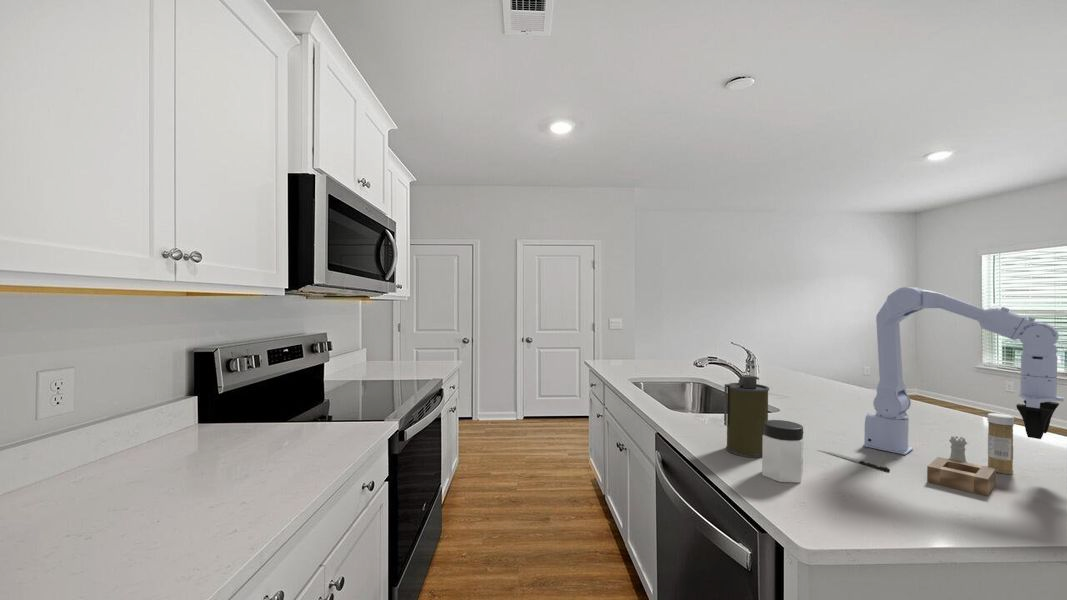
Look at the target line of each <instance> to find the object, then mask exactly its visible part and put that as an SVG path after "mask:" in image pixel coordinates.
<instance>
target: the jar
mask: <svg viewBox="0 0 1067 600" xmlns="http://www.w3.org/2000/svg"><path fill="white" fill-rule="evenodd" d="M763 433H764V434H763V446H762V457H761V460H762V461H761V462H762V463H761V467H762V468H761V470H762V471H761V472H762V473H761V475H762V476H763V477H766V478H768V479H770V480H773V481H776V482H779V483H793V484H794V483H797V484H798V483H799V484H800V483H801V482H802V479H803V477H804V476H803V474H804V473H803V472H804V426H803V425H801V424H800V423H797V422H795V421H789V420H783V419H782V420H781V419H768V420H767V421H765V422H764V423H763Z"/></svg>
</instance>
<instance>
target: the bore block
mask: <svg viewBox="0 0 1067 600" xmlns="http://www.w3.org/2000/svg"><path fill="white" fill-rule="evenodd" d="M966 462H967V461H966ZM966 462H961V461H956V460H951V459H949V458H946V457H940V456H936V458H935V459H934V460H932V461H931V462H930V463H929V464H928V465H927V468H926V470H927V471H926V473H927V476H926V482H927V481H928V483H931V482H932V483H931V484H936V485H941V486H945V487H948V488H953V489H956V490H960V491H965V492H969V493H974V494H978V495H982V496H987V497H989V495H990V494H991V492H992V490H993V488H994V487H995V486H996V476H997V475H996V473H997V472H996V468H991V467H987V466H986V465H979V464H975V463H969V462H967V463H966Z"/></svg>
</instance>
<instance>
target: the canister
mask: <svg viewBox="0 0 1067 600" xmlns="http://www.w3.org/2000/svg"><path fill="white" fill-rule="evenodd" d="M757 380H760V378H759V377H758V376H754V375H739V379H738V382H729V383H725V384H724V392H723V393H724V394H723V395H724V405H723V409H724V412H723V413H724V414H723V416H724V417H723V418H724V420H723V422H724V423H723V425H724V426H725V427H726V446H725V450H726V451H727V452H728V453H729V454H732V455H736V456H739V457H744V458H753V459H754V458H755V459H758V458H760V459H761V458H762V446H763V434H764V433H763V423H764V422H765V421H767V420H769V391H770V387H769V386H767V385H763V384H758V383H757Z"/></svg>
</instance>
